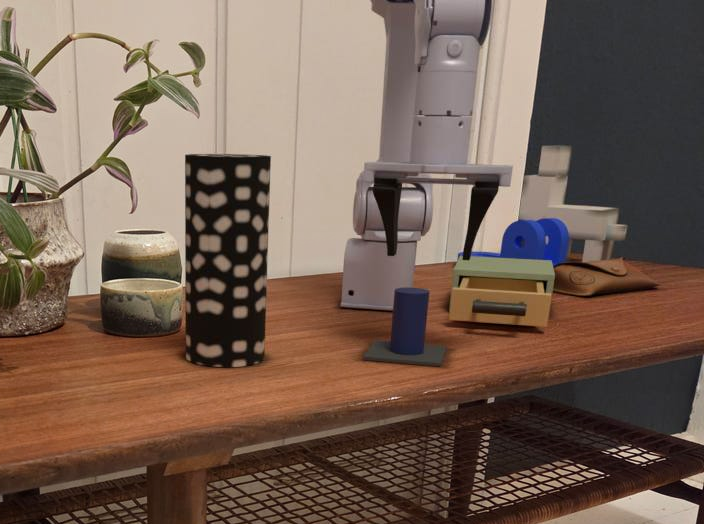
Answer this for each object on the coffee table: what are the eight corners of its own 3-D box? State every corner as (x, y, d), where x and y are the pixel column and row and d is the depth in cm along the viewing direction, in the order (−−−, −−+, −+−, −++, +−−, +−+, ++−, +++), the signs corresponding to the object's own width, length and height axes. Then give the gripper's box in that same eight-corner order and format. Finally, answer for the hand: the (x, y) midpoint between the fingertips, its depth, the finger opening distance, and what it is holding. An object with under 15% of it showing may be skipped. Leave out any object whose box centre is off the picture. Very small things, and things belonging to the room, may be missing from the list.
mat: (363, 360, 93) (363, 356, 92) (374, 343, 100) (374, 340, 100) (440, 366, 90) (441, 363, 90) (446, 349, 98) (446, 345, 97)
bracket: (563, 275, 147) (572, 219, 144) (532, 279, 143) (540, 222, 140) (477, 262, 161) (483, 210, 158) (446, 265, 156) (452, 212, 153)
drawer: (547, 334, 101) (552, 301, 100) (446, 326, 104) (449, 294, 103) (544, 308, 116) (548, 278, 115) (455, 302, 119) (458, 273, 118)
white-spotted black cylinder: (175, 351, 95) (173, 153, 88) (246, 345, 98) (251, 154, 90) (200, 370, 88) (201, 157, 80) (276, 363, 91) (284, 157, 83)
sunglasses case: (590, 294, 127) (577, 251, 128) (552, 312, 133) (539, 270, 134) (664, 285, 136) (652, 244, 137) (625, 302, 142) (613, 263, 143)
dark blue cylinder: (387, 353, 94) (392, 292, 91) (391, 346, 97) (396, 286, 94) (421, 356, 93) (427, 294, 90) (425, 348, 96) (431, 288, 94)
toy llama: (609, 272, 152) (631, 148, 144) (512, 261, 162) (528, 145, 155) (624, 267, 157) (645, 147, 150) (529, 257, 168) (545, 145, 160)
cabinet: (548, 318, 114) (555, 274, 112) (449, 311, 118) (453, 269, 115) (545, 300, 126) (551, 260, 124) (455, 294, 130) (459, 255, 127)
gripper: (362, 115, 86) (353, 258, 91) (518, 117, 82) (499, 266, 87) (373, 116, 92) (364, 249, 97) (519, 117, 88) (501, 256, 93)
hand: (428, 257), depth 92 cm, fingers open, 7 cm apart
